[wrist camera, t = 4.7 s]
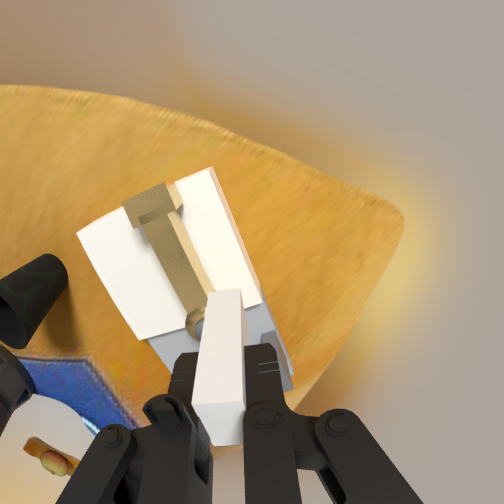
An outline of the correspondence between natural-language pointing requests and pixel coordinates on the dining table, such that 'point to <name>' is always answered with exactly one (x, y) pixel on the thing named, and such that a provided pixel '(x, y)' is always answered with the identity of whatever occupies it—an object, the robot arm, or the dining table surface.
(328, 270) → the dining table surface
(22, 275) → the cup
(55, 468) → the apple
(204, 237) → the doorframe
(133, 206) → the bar
